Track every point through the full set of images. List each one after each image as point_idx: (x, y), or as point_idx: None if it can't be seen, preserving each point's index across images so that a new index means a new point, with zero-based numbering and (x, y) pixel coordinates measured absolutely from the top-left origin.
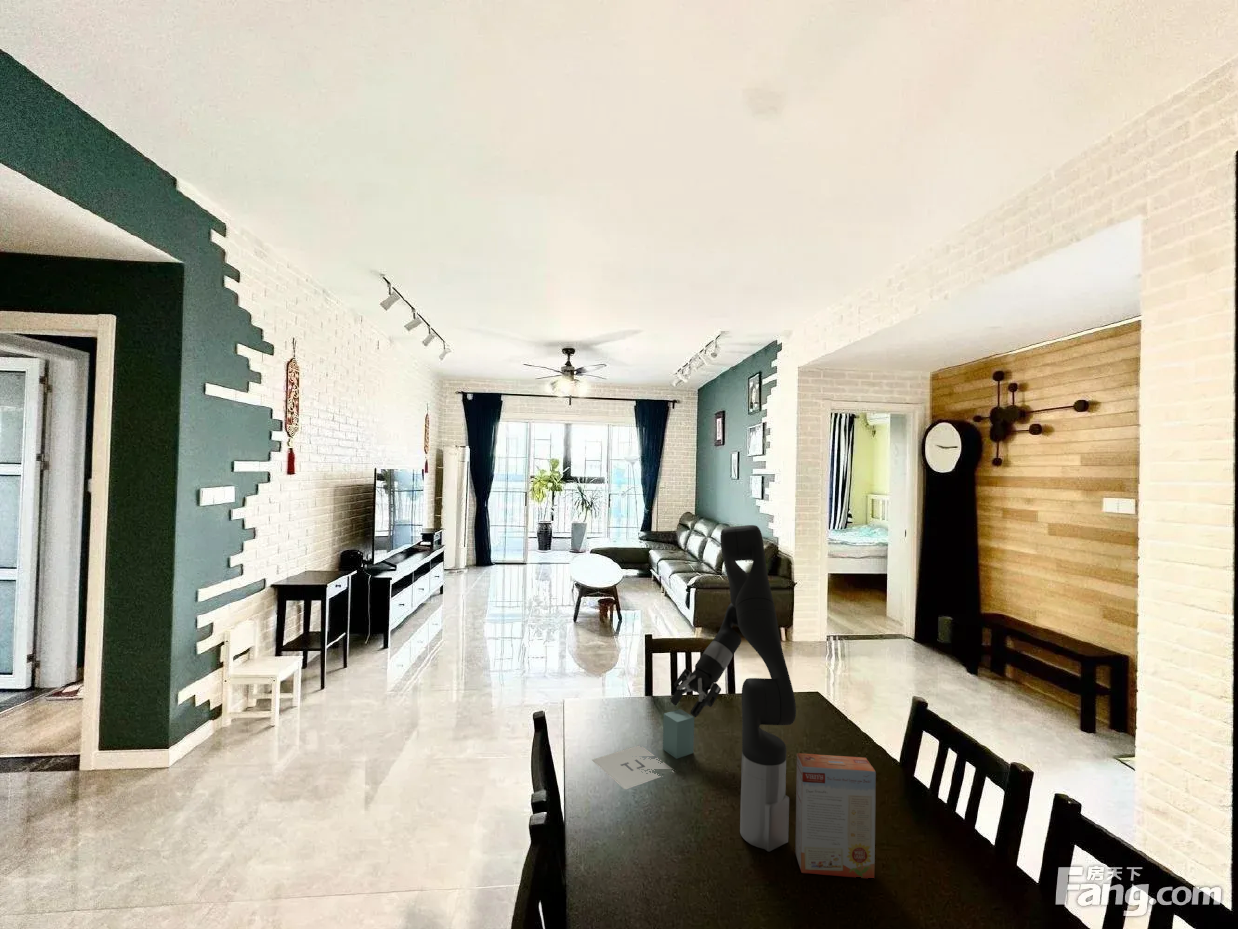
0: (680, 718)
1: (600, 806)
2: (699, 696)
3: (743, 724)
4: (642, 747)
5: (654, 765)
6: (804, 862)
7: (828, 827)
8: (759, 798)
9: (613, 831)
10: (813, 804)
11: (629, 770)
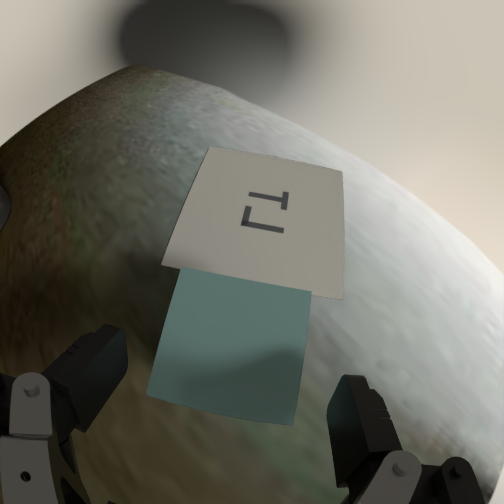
0: (196, 317)
1: (209, 111)
2: (42, 416)
3: None
4: (327, 294)
5: (226, 246)
6: None
7: None
8: None
9: (160, 101)
10: None
11: (255, 190)
